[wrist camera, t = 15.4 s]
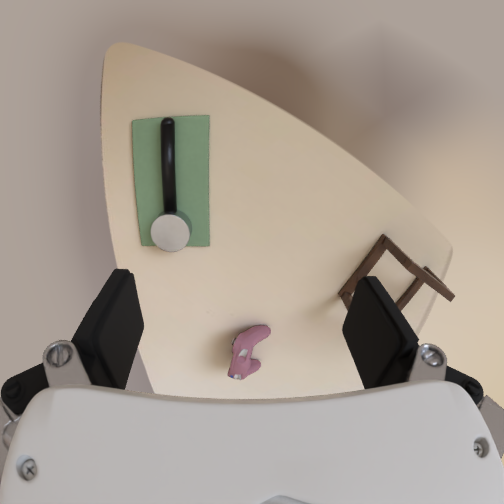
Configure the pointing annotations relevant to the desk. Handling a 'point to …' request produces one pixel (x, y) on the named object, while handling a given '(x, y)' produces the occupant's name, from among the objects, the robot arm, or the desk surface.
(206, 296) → the desk surface
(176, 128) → the mat
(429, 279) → the rack
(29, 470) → the robot arm
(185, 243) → the grey saucepan
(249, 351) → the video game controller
